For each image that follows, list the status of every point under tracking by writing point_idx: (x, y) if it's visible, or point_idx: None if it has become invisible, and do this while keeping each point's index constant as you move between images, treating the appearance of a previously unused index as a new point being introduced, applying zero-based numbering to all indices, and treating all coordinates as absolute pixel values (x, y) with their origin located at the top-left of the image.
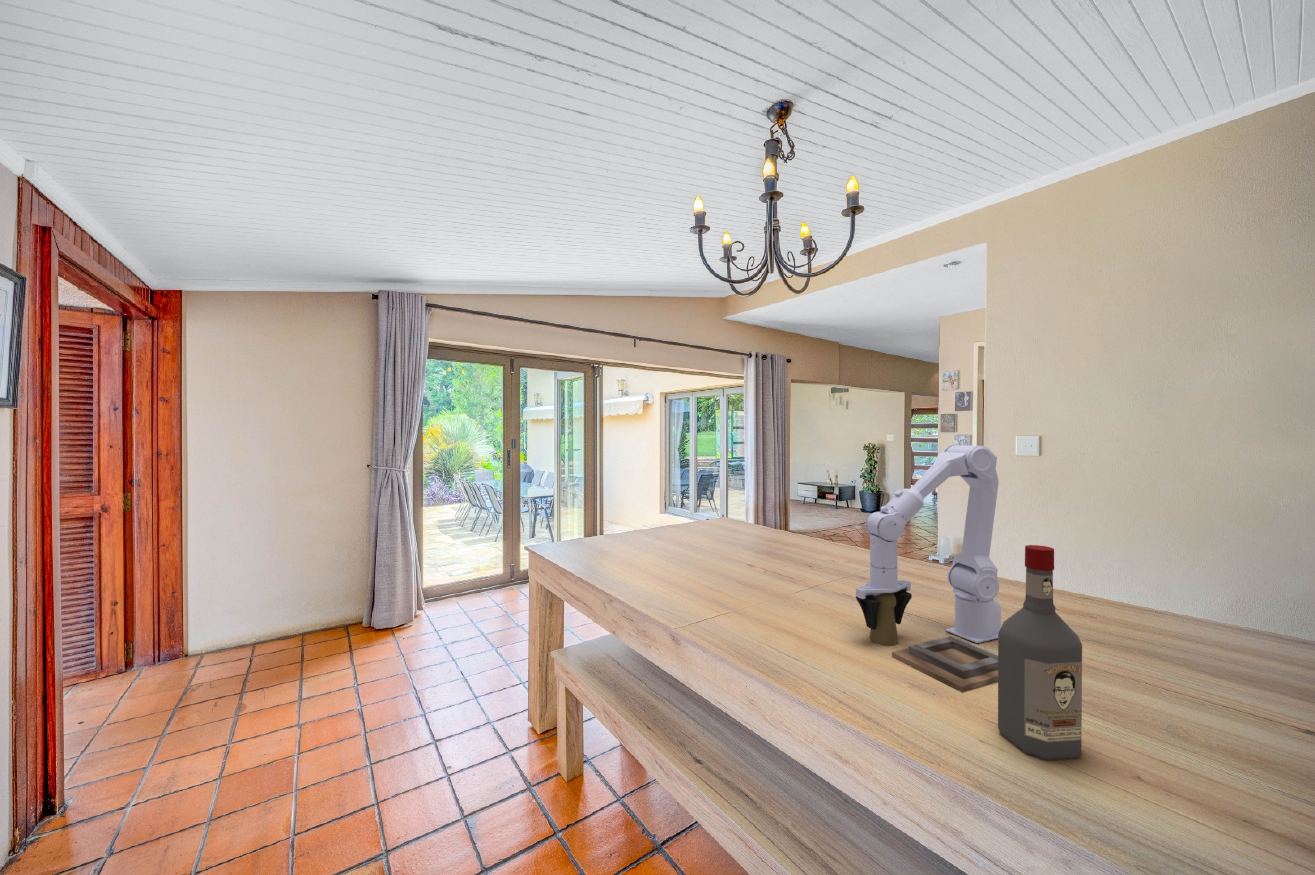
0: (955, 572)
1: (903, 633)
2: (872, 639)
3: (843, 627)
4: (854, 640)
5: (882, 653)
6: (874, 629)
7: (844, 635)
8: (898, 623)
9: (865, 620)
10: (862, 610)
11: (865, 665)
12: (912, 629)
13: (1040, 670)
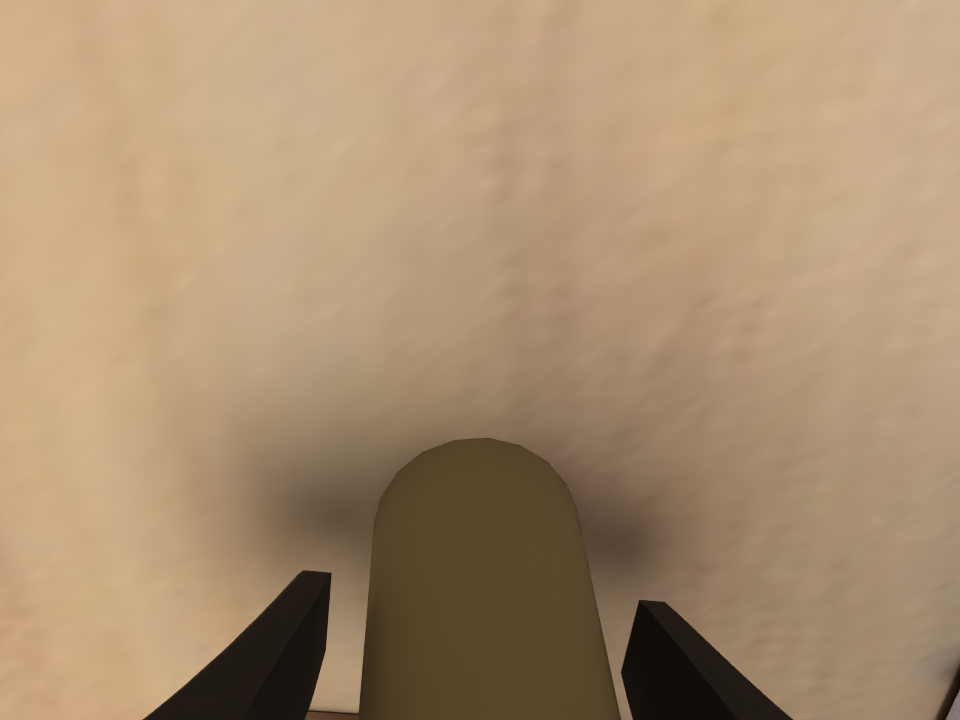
0: None
1: (720, 522)
2: (376, 520)
3: (415, 174)
4: (273, 425)
5: None
6: (371, 590)
7: (275, 312)
8: (623, 682)
9: (267, 610)
10: (153, 718)
11: (33, 711)
12: (849, 508)
13: None
